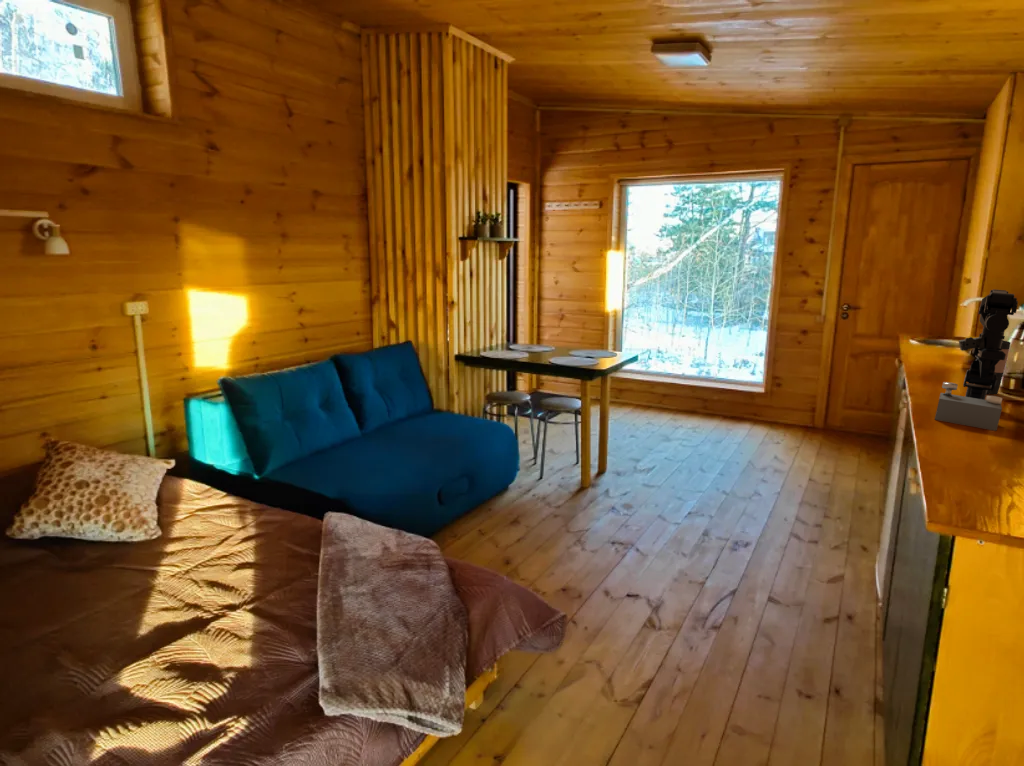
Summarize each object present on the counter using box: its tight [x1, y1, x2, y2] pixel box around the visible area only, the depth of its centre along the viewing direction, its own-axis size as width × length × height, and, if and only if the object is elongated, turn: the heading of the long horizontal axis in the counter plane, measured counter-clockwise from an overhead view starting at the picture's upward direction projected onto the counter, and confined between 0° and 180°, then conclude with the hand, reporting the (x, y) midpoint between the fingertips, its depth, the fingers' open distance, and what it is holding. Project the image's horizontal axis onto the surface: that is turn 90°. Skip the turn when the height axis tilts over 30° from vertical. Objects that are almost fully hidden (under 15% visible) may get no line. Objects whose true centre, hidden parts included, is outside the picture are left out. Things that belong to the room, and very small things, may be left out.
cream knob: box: [985, 395, 1003, 405], centre depth 201 cm, size 4×4×4 cm
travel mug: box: [983, 340, 1012, 395], centre depth 244 cm, size 8×8×20 cm
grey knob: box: [941, 381, 959, 396], centre depth 207 cm, size 4×4×4 cm
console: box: [934, 392, 1003, 432], centre depth 203 cm, size 10×16×7 cm, turn 55°
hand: (982, 378), depth 212 cm, fingers closed
